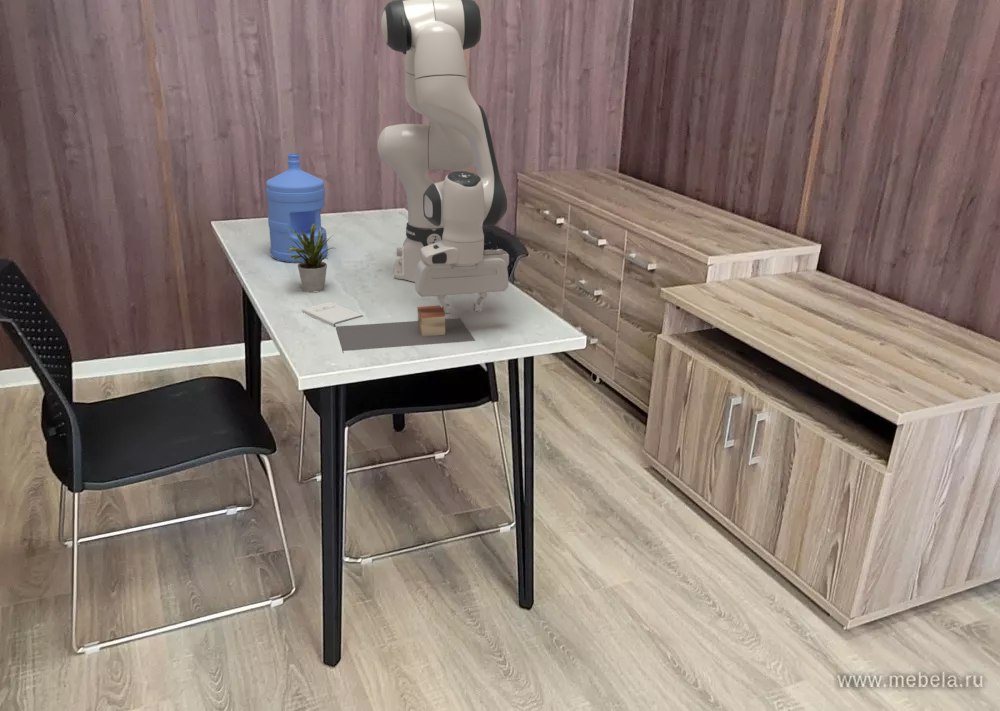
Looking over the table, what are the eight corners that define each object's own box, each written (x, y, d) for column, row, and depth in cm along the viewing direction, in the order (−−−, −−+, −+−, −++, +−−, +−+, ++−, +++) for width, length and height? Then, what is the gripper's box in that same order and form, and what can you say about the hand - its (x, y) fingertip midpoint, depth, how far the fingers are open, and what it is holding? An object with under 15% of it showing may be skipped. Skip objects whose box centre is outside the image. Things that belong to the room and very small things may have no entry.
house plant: (283, 279, 210) (279, 216, 204) (338, 277, 213) (335, 216, 207) (281, 297, 197) (277, 231, 191) (340, 295, 200) (337, 230, 194)
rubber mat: (335, 329, 180) (335, 326, 179) (459, 320, 187) (459, 317, 187) (343, 353, 167) (343, 350, 167) (475, 343, 175) (475, 340, 175)
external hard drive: (334, 329, 181) (302, 314, 189) (363, 321, 187) (331, 307, 194) (333, 322, 180) (301, 308, 188) (363, 314, 186) (331, 300, 194)
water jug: (259, 258, 226) (250, 156, 215) (292, 245, 240) (285, 148, 229) (307, 266, 221) (301, 161, 210) (338, 252, 235) (334, 153, 224)
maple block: (418, 328, 180) (417, 307, 178) (440, 326, 182) (440, 305, 180) (422, 336, 176) (421, 314, 174) (445, 334, 177) (444, 312, 175)
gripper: (505, 244, 179) (502, 304, 185) (413, 249, 173) (413, 310, 179) (514, 252, 174) (511, 313, 179) (419, 257, 168) (419, 320, 173)
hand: (461, 312), depth 179 cm, fingers open, 6 cm apart
